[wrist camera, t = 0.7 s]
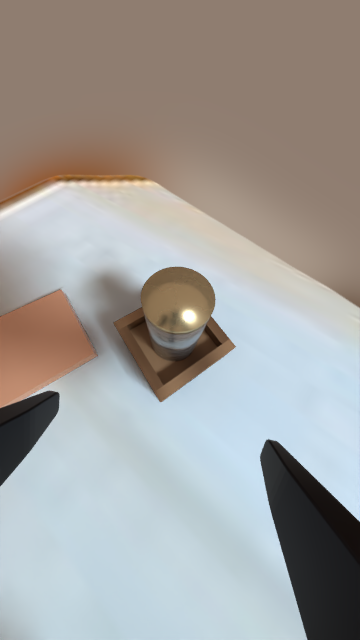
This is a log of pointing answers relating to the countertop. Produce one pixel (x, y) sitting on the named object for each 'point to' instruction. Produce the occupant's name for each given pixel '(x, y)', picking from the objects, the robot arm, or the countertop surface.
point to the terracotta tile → (40, 346)
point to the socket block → (171, 373)
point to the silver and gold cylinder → (176, 310)
